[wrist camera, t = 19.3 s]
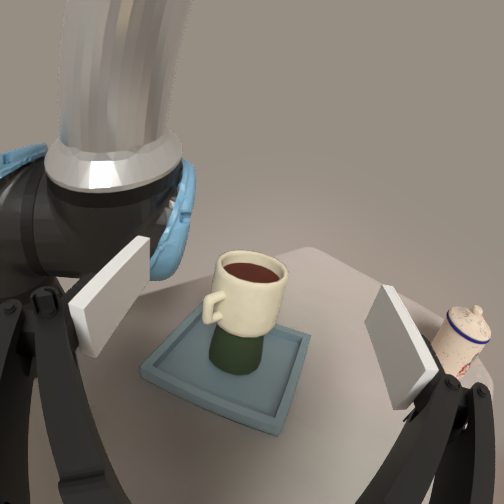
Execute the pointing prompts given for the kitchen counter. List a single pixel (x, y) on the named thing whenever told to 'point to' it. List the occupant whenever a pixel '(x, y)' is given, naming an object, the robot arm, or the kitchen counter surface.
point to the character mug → (243, 308)
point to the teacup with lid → (461, 339)
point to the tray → (229, 385)
